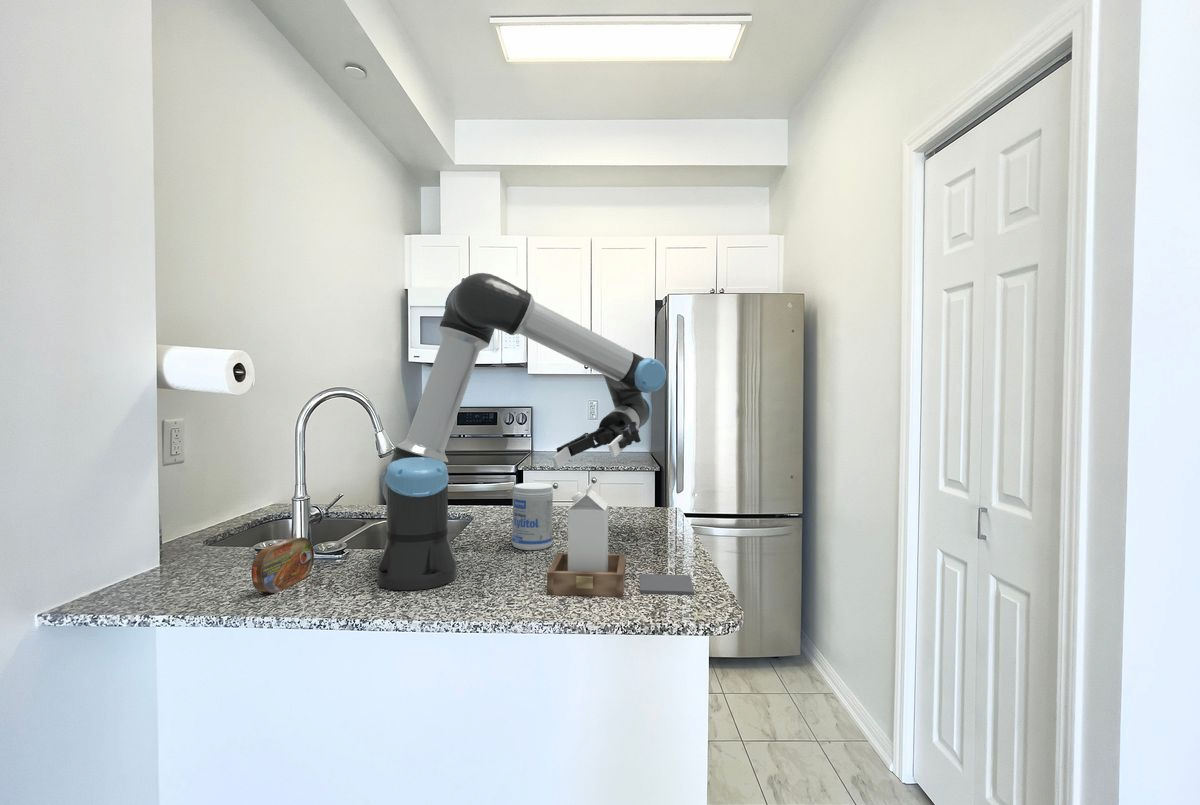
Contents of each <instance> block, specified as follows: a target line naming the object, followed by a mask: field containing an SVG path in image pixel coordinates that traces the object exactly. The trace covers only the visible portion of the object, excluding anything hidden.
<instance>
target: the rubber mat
mask: <svg viewBox="0 0 1200 805" xmlns="http://www.w3.org/2000/svg"><path fill="white" fill-rule="evenodd" d="M639 594H648V595H650V594H651V595H652V594H653V595H681V596H683V595H686V596H687V595H688V596H694V595H695V589H694V586H693V581H692V578H691V575H690V574H660V573H659V574H657V573H655V574H654V573H652V574H651V573H640V574H639Z"/></svg>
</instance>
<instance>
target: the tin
mask: <svg viewBox="0 0 1200 805" xmlns="http://www.w3.org/2000/svg"><path fill="white" fill-rule="evenodd" d="M311 542H312V541H310V540H309V539H308V538H307V537H304V536H303V537H292V538H288V539H285V540H283V541H280V542H277V543H275V544H273V545H269V546H266V547H265V548H263V549H261V550H259V552H257V554H256V555H255V557H254V559H253V561H252V563H251V581H252V585H253V588H254V589H255V590H257V591H258V592H260V593H272V594H276V593H277V594H278V593H279V592H281V591H284V590H285V589H287V588H289V587H291V586H293V585H295V584H298V583H299V582H301V581H303V580H305V579H306V578H307V576H309V575H310V573H311V570H312V568H313V565H314V560H315V554H314V553H315V552H314V547H313V544H312V543H311Z"/></svg>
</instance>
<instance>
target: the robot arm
mask: <svg viewBox="0 0 1200 805" xmlns="http://www.w3.org/2000/svg"><path fill="white" fill-rule="evenodd" d="M444 304H445V306H444V313H443V316H442V319H441V321H440V324H439V326H438V330H439V332H440V335H441V336H442V339H441V342H440V343H439V347H438V350H437V353H436V356H435V358H434V360H433V364H432V367H431V369H430V373H429V376H428V378H427V380H426V383H425V387H424V389H423V392H422V394H421V397H420V400H419V404H418V406H417V408H416V411H415V415H414V417H413V419H412V422H411V425H410V428H409V431H408V433H407V436H406V439H404V440H403V441H402V442H400V443H399V442H398V444H396V446H395V449H394V451H393V455H392V457H391V460H390V462H389V464H388V465H387V467H386V469H385V470H384V472H383V474H382V477H381V483H380V487H381V492H382V496H383V498H384V500H385V503H386V504H385V505H386V542H385V546H384V549H383V552H382V555H381V559H380V561H379V564H378V568H377V572H376V575H377V576H376V581H377V582H376V583H377V585H379V586H380V587H382V588H384V589H387V590H388V589H389V590H392V591H393V590H396V591H419V590H426V589H432V588H436V587H440V586H443V585H447V584H449V583H451V582H453V581H455V580H456V578H457V575H458V568H457V567H458V565H457V561H456V558H455V555H454V552H453V548H452V547H451V544H450V540H449V531H448V528H449V513H448V512H449V509H448V507H449V502H448V501H449V492H448V491H449V490H448V488H449V486H448V485H449V480H450V476H449V473H448V467H447V466H448V463H449V460H448V456H447V455H446V451H445V450H446V448H447V444H448V442H449V439H450V436H451V433H452V430H453V427H454V425H455V422H456V420H457V417H458V413H459V410H460V408H461V406H462V402H463V400H464V397H465V393H466V391H467V388H468V385H469V383H470V379H471V376H472V374H473V370H474V368H475V366H476V362H477V360H478V357H479V354H480V352H481V351H482V350H485V349H486V348H488V347H489V346H490V344H491V341H492V338H493V335H494V332H495V330H498V331H501V332H505V333H506V334H508V335H510V336H515V335H518V334H519V335H521V336H523V337H525V338H527V339H529V340H532V341H534V342H536V343H538V344H540V345H542V346H544V347H546V348H548V349H550V350H552V351H554V352H556V353H558V354H561V355H563V356H564V357H566V358H568V359H570V360H573V361H574V362H577V363H579V364H581V365H584V366H585V367H588V368H590V369H591V370H593V371H596V372H597V373H600V374H602V376H603V378H604V380H605V383H606V386H607V389H608V391H609V394H610V397H611V400H612V403H613V406H614V409H613V410H612V411H610V412H609V413H608V414H607V415H606V416H604V417H603V418H602V419H601V421H600V423H599V425H598V428H597V429H596V430H595V431H593V432H590V433H589V432H584V433H583V434H582V435H580V436H578V437H577V438H574V439H573V440H571V441H569V442H566V443H564V444H563V445H560V446H558V447H557V448H556V452H557V453H556V454H554V455H553V456H552V457H551V460H552V463H553V467H554V469H555V470H560V468H562V467H563V466H565V464H567V463H568V462H571V460H572V458H573V457H574V456H575V455H579V454H580V453H583V452H585V451H587V450H589V449H597V448H599V447H601V446H607V447H608V451H609V453H610V456H611V458H612V459H614V458H616V457H617V456H618V455H620V453H621V452H622V451H623V450H625V448H626V447H627V446H631V445H632V444H633V442H634V443H636V444H637V443H640V442H641V437H640V434H639V433H640V431H639V429H640V428H641V427H643V426H644V425H646V423H647V422H648V420H649V419H650V417H651V416H652V413H653V406H652V403H651V401H650V400H649V399H648V398H647V397H646V396H644V395H643V394H642V393H644V394H648V393H653V392H657V391H659V390H660V389H661V388H662V387H663V386H664V385H665V383H666V380H667V370H666V368H665V366H664V364H663V363H662V362H661V361H660V360H658V359H655V358H651V357H646V358H645V357H644V356H641V355H639V354H637V353H635V352H633V351H631V350H629V349H627V348H625V347H624V346H622V345H619V344H617V343H616V342H614V341H612V340H611V339H608V338H606V337H604V336H602V335H601V334H598V333H596V332H594V331H593V330H590V329H588V328H587V327H585V326H583V325H581V324H579V323H577V322H575V321H573V320H571V319H569V318H567V317H565V316H563V315H562V314H559V313H558V312H555V311H554V310H552V309H550V308H548V307H546V306H545V305H543V304H540V303H538V302H536V301H535V299H534V295H533V294H531V293H529V292H528V291H526V290H524V289H522V288H521V287H518V286H516V285H514V284H513V283H511V282H510V281H507V280H506V279H503V278H501V277H499V276H497V275H494V274H491V273H488V272H486V273H485V272H476V273H473V274H470V275H467V276H466V277H465V278H464V279H463V280H462V281H460V283H458V284H457V285H455V286H454V287H453V289H451V291H450V292H449V293H448V295H447V297H446V299H445V302H444Z"/></svg>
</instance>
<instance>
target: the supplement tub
mask: <svg viewBox="0 0 1200 805" xmlns="http://www.w3.org/2000/svg"><path fill="white" fill-rule="evenodd" d="M553 492H554V491H553V485H552V484H550V483H546V482H545V483H543V482H524V483H523V482H522V483H517V484H515V485H513V492H512V521H511V523H512V524H511V525H512V526H511V528H512V529H511V530H512V531H511V533H512V534H511V537H512V538H511V543H512V546H513V547H514V548H516V549H518V550H523V551H539V550H545V549H547V548H549V547H551V546H552V544H553V510H554V509H553V507H554V506H553V502H554V500H553V497H554V493H553Z"/></svg>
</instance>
